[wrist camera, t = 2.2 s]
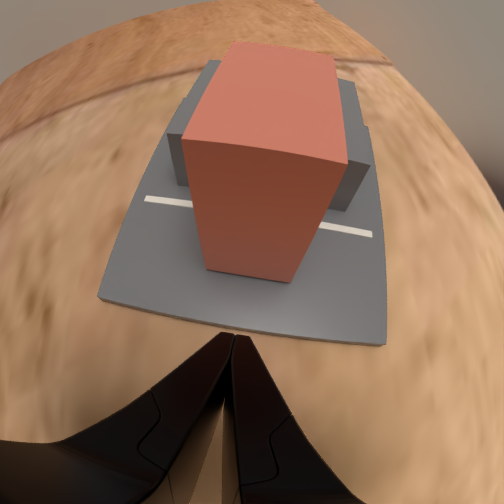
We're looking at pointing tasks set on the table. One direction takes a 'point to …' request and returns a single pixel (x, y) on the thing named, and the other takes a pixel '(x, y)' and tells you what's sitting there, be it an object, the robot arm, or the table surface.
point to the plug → (264, 158)
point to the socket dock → (251, 288)
